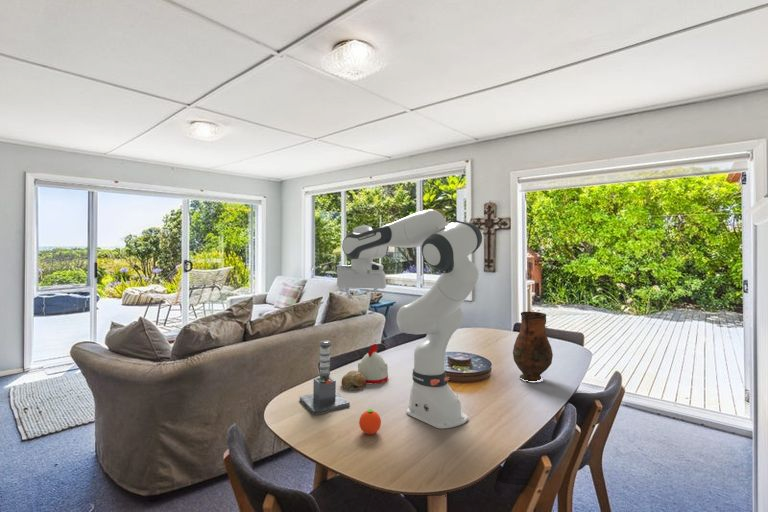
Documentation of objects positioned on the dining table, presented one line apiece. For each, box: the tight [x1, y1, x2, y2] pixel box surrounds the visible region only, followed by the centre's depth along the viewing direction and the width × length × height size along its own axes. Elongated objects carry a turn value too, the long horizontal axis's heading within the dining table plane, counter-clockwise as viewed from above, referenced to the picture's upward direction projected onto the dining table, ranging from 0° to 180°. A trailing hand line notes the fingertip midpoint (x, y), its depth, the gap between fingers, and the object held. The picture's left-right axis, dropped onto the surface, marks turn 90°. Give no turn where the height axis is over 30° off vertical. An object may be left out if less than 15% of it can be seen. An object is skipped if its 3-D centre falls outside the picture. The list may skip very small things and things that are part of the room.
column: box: [318, 340, 332, 383], centre depth 141 cm, size 5×5×17 cm
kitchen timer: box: [357, 343, 389, 385], centre depth 169 cm, size 14×14×15 cm
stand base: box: [299, 375, 351, 416], centre depth 142 cm, size 14×14×10 cm
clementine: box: [358, 408, 382, 435], centre depth 121 cm, size 8×7×7 cm
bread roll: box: [341, 370, 366, 391], centre depth 160 cm, size 10×10×8 cm
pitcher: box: [512, 311, 554, 381], centre depth 172 cm, size 17×21×30 cm
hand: (361, 299), depth 157 cm, fingers open, 8 cm apart
